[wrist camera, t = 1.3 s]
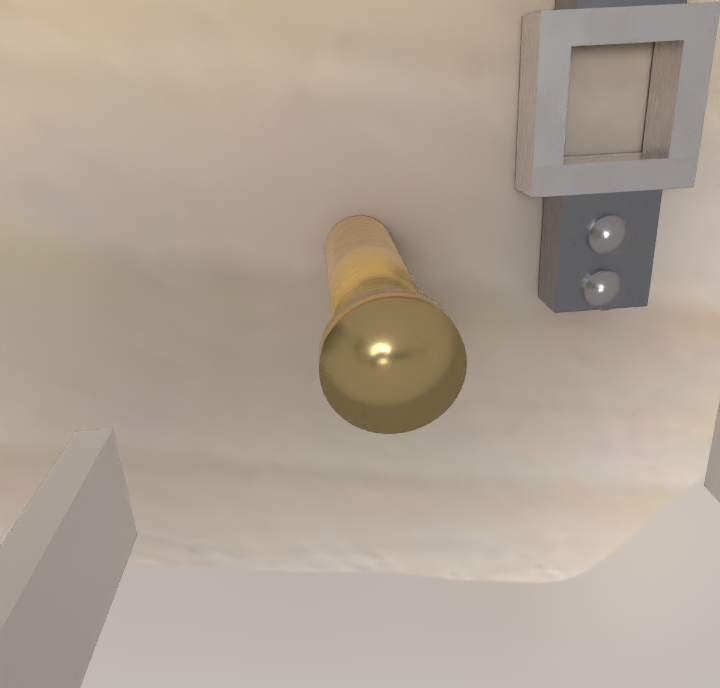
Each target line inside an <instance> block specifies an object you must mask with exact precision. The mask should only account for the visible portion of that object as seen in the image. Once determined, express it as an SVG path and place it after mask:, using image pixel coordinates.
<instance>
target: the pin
mask: <svg viewBox="0 0 720 688" xmlns="http://www.w3.org/2000/svg"><path fill="white" fill-rule="evenodd" d="M325 250H326V262H327V272H328V283H329V293H330V304H331V314H332V318H331V319H330V321H329V323H328V324H327V326H326V328H325V330H324V333H323V335H322V338H321V342H320V348H319V374H320V381H321V386H322V389H323V392H324V394H325V396H326V398H327V400H328V402H329V403H330V405H331V406H332V408H333V409H334V410H335V411H336V412H337V413H338V414H339V415H340V416H341V417H342V418H343V419H345V420H346V421H348V422H349V423H351V424H352V425H354V426H356V427H359V428H361V429H364V430H367V431H371V432H375V433H383V434H396V433H403V432H408V431H412V430H415V429H418V428H420V427H423V426H425V425H427V424H429V423H431V422H432V421H434V420H435V419H437V418H438V417H439V416H440V415H442V414H443V413H444V412H445V411H446V410H447V409H448V408H449V407H450V406H451V405H452V403H453V402H454V400H455V399H456V398H457V396H458V394H459V392H460V390H461V388H462V385H463V382H464V379H465V375H466V367H467V360H466V351H465V346H464V344H463V341H462V338H461V336H460V334H459V333H458V331H457V329H456V327H455V325H454V324H453V322H452V320H451V319H450V317H449V316H448V314H447V313H446V312H445V310H444V309H443V308H442V307H441V306H440V305H439V304H437V303H436V302H435V301H433V300H432V299H430V298H429V297H427V296H425V295H423V294H421V293H419V292H418V290H417V288H416V286H415V284H414V282H413V280H412V278H411V276H410V274H409V272H408V270H407V268H406V266H405V264H404V262H403V260H402V258H401V256H400V254H399V252H398V250H397V248H396V246H395V244H394V242H393V240H392V238H391V236H390V234H389V232H388V230H387V229H386V228H385V227H384V226H383V225H382V224H381V223H380V222H379V221H377V220H375V219H373V218H371V217H367V216H352V217H348V218H346V219H344V220H342V221H340V222H339V223H338V224H337V225H336V226H335V227H334V228H333V229H332V230H331V232H330V234H329V236H328V238H327V241H326V247H325Z"/></svg>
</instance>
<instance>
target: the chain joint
mask: <svg viewBox="0 0 720 688" xmlns="http://www.w3.org/2000/svg"><path fill="white" fill-rule="evenodd" d="M719 13H720V2H706V3H687V0H556V8H555V10H546V11H538V12H534V13H531V14H527V15H523V18H522V41H521V64H520V87H519V111H518V134H517V157H516V180H515V189H517V190H519V191H521V192H522V193H524V194H526V195H528V196H529V197H531V198H533V197H544V206H543V223H542V239H541V256H540V272H539V289H538V297H539V298H540V299H541V300H542V301H543V302H544V303H545V304H546V305H547V306H548V307H549V308H550V309H552V310H553V311H554V312H555V313H559V312H572V311H586V310H609V309H613V308H627V307H641V306H647V303H648V296H649V288H650V280H651V273H652V265H653V257H654V250H655V242H656V234H657V227H658V219H659V211H660V204H661V196H662V189H674V188H689V187H694V181H695V174H696V168H697V161H698V154H699V147H700V141H701V134H702V127H703V121H704V114H705V107H706V100H707V94H708V87H709V80H710V74H711V67H712V60H713V53H714V47H715V40H716V33H717V26H718V20H719ZM650 42H655V46H654V54H653V63H652V71H651V80H650V89H649V97H648V106H647V115H646V123H645V132H644V141H643V149H642V152H632V153H616V154H599V155H583V156H567V157H564V146H565V132H566V118H567V104H568V90H569V75H570V61H571V47H574V46H593V45H612V44H631V43H650Z"/></svg>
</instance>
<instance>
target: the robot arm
mask: <svg viewBox="0 0 720 688" xmlns="http://www.w3.org/2000/svg"><path fill="white" fill-rule="evenodd" d="M704 486H705V487H706V488H707V489H708V490H709V491H710V492H711V494H713V496H714V497H715V498H716V499H717V500H718V501H719V502H720V401H719V406H718V412H717V417H716V423H715V428H714V433H713V439H712V444H711V450H710V455H709V461H708V466H707V472H706V477H705V483H704ZM136 537H137V531H136V526H135V522H134V518H133V513H132V509H131V505H130V500H129V496H128V492H127V487H126V483H125V478H124V474H123V470H122V465H121V461H120V457H119V452H118V448H117V444H116V439H115V435H114V430H113V428H110V429H97V430H84V431H76V432H75V433H74V435H73V436H72V438H71V439H70V441H69V442H68V444H67V445H66V447H65V448H64V450H63V451H62V453H61V455H60V456H59V458H58V459H57V461H56V462H55V464H54V465H53V467H52V468H51V470H50V471H49V473H48V474H47V476H46V477H45V479H44V481H43V482H42V484H41V485H40V487H39V488H38V490H37V491H36V493H35V494H34V496H33V497H32V499H31V500H30V502H29V503H28V505H27V507H26V508H25V510H24V511H23V513H22V514H21V516H20V517H19V519H18V520H17V522H16V523H15V525H14V526H13V528H12V529H11V531H10V533H9V534H8V536H7V537H6V539H5V540H4V542H3V543H2V545H1V546H0V688H80V686H81V684H82V681H83V678H84V676H85V673H86V670H87V668H88V665H89V662H90V660H91V657H92V654H93V652H94V649H95V646H96V643H97V641H98V638H99V635H100V633H101V630H102V628H103V625H104V622H105V620H106V617H107V614H108V612H109V609H110V606H111V603H112V601H113V598H114V596H115V593H116V590H117V588H118V585H119V582H120V580H121V577H122V574H123V572H124V569H125V566H126V564H127V561H128V558H129V556H130V553H131V550H132V548H133V545H134V542H135V540H136Z"/></svg>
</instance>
